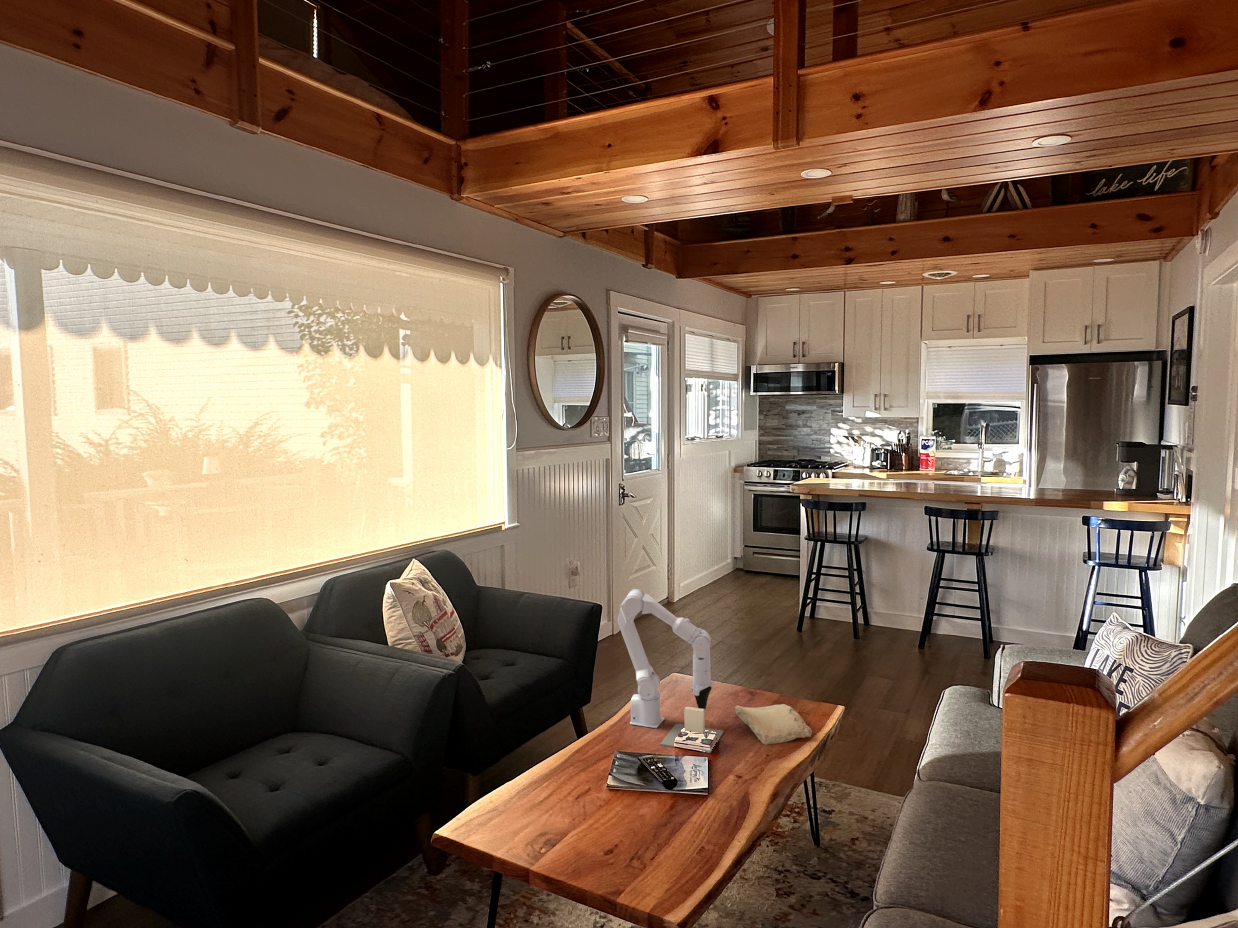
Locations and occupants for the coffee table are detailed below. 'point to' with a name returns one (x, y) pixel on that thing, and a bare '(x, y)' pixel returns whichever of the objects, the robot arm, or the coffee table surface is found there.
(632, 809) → the coffee table surface
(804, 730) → the small cream pillow
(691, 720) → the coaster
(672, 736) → the mat
